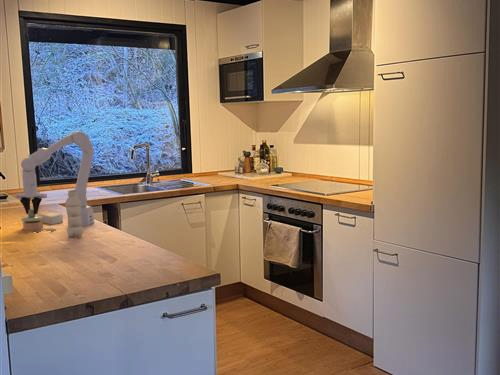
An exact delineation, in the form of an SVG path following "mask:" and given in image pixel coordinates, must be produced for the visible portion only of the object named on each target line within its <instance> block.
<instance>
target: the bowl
mask: <svg viewBox="0 0 500 375" xmlns="http://www.w3.org/2000/svg"><path fill="white" fill-rule="evenodd" d="M22 229H23V230H24V231H35V230H39V229H44V222H43V221H42V220H40V221H30V222H25V221H22Z"/></svg>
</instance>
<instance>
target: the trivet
mask: <svg viewBox="0 0 500 375" xmlns="http://www.w3.org/2000/svg"><path fill="white" fill-rule="evenodd" d="M43 230H46V231H51V232H50V234H51V233H54V231H55V232H56V231H57V229H56V228H41V229H36V230H32V233H33V232H36V233H39V232H41V231H43ZM36 233H35V234H36Z"/></svg>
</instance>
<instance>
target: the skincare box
mask: <svg viewBox="0 0 500 375" xmlns="http://www.w3.org/2000/svg"><path fill="white" fill-rule="evenodd" d="M38 216H42V217H43V220H42V221H43V224H44V223H45V224H50V225H54V224H60V223H63V222H64V218H63V217H64V216H63V214H61V213H56V212H52V211H47V212H41V213H38Z"/></svg>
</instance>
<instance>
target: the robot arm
mask: <svg viewBox="0 0 500 375" xmlns="http://www.w3.org/2000/svg"><path fill="white" fill-rule="evenodd" d="M68 145H69V146H70V145H71V146H72V145H76V146H77V147H78V148H79V149H80V150H81V151H82V155H81V160H80V163H79V164H80V165H79V168H78V174H77V178H76V179H77V180H76V184H75V187H74V190H77V197H78V198H79V199H80V201H81V215H80V216H81V224H82V227H83V226H86V227H87V226H89V225H92V224H94V223H95V216H94V208H93V206H91V205H88V203H87V202H88V197H87V187H88V182H89V177H90V171H91V166H92V162H93V156H94V152H95V151H94V150H95V149H94V148H93V147H94V146H93V145H92V142H91V140H90V138H89V136H88V134H86V133H85V132H83V131H82V130H75V131H73V132H72V133H68V134H67V135H65V136H62V138H60V139H58V140H57V141H56V142H54V143H52V144H51V145H50V146H49V147H48V146H47V148H45V147H41V148H40V147H39V148H37V150H36V151H35V152H33V153H32V154H28V155H27V157H24V159H22V160H21V163H20V166H21V168H22V170H21V174H22V186H23V187H22V188H23V192H22V193H21V192H20V193H14V199H19V202H20V203H21V204H22V206H23V208H24V211H25V214H26V215H28V210H29V209H31V204H32V209H33V211H34V214H35V215H37V214H39V208H40V204H41V202H42V199H47V198H48V193H39V192H38V186H37V185H38V184H37V174H36V167H37V166H38V167H39V166H40V165H42V164H43V163H45V162H46V161H48V160H49V159H51V157H52V154H53V153H55V152H57V151H59V150H60V149H62V148H64V147H65V146H68Z"/></svg>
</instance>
